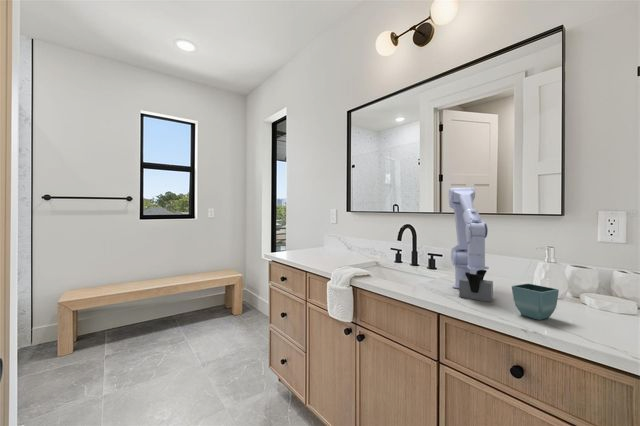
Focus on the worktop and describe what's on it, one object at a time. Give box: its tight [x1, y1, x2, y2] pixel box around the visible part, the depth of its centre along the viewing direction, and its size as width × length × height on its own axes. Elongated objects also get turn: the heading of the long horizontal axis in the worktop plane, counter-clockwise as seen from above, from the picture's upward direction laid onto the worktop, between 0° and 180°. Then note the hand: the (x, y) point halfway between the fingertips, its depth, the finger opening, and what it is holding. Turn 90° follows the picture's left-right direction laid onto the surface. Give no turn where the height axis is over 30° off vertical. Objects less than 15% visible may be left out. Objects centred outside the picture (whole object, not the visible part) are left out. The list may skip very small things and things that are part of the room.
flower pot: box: [511, 283, 560, 321], centre depth 86 cm, size 9×9×9 cm
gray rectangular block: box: [458, 277, 494, 303], centre depth 106 cm, size 6×10×6 cm, turn 53°
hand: (476, 290), depth 106 cm, fingers open, 7 cm apart
